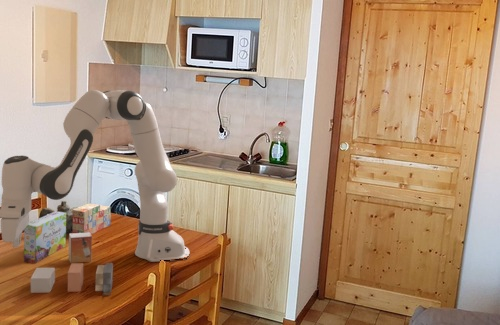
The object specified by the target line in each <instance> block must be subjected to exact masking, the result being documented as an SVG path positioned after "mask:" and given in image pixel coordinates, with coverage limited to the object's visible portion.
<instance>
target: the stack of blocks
mask: <svg viewBox="0 0 500 325" xmlns="http://www.w3.org/2000/svg"><path fill="white" fill-rule="evenodd" d="M111 210H112V209H111V206H107V205H101V204H96V203H95V204H94V203H86V204H84V205H81V206H79V207H78V208H76V209H73V216H72V232H71V233H72V234H73V233H87V232H90V234H91V235H92V234H95V233H96V232H98V231H100V230H103V229H106V228H107V227H109V226H111V219H112V215H111V214H112V212H111Z"/></svg>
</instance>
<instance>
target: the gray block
mask: <svg viewBox="0 0 500 325" xmlns="http://www.w3.org/2000/svg"><path fill="white" fill-rule="evenodd" d="M55 282H56V268H55V267H36V268H35V270H34V272H33V273H32V275H31V277H30V293H31V294H33V293H38V294H39V293H43V294H44V293H51V290H52V289H53V286H54V284H55Z"/></svg>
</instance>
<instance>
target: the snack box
mask: <svg viewBox="0 0 500 325" xmlns="http://www.w3.org/2000/svg"><path fill="white" fill-rule="evenodd" d="M54 211H55V212H53V213H50V214H47V215H46V216H44V217H41V218H39V217H38V218H37V219H34V220H33V221H29V224H28V225H27V226H26V228H25V229H24V230H23V232H24V234H23V235H24V236H23V239H24V240H23V241H24V242H23V262H26V263H31V264H37V263H39V262H41V260H44V259H45V258H48V257H49V256H51V255H52V254H54V253H56V252H58V251H60V250H62V249H63V248H65V247H66V243H67V242H66V239H67V234H66V213H64V212H57V210H54Z"/></svg>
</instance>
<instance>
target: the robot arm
mask: <svg viewBox="0 0 500 325" xmlns="http://www.w3.org/2000/svg"><path fill="white" fill-rule="evenodd" d="M104 119H108V120H109V119H111V120H115V121H122V120H125V121H126V123H128V127H129V132H130V136H131V141H132V145H133V149H134V152H135V154H136V155H137V157H138V160H139V161H138V162H137V163H136V164H135V167H134V175H135V177H136V182H137V188H138V193H139V202H140V203H139V204H140V207H139V208H140V209H139V210H140V211H139V213H140V214H139V220H138V228H137V229H138V230H137V231H138V232H137V233H138V239H137V244H136V249H135V251H134V254H135V256H137V258H140V259H144V260H147V261H148V262H152V263H155V262H161V261H160V260H170V261H172V260H171V259H179V258H184V257H187V256H189V254H190V249H189V247H187V246H185V241H184V238H183V237H182V236H181V235H180V234H179V233H177V232H176V231H175V230H174V225H173V222H172V221H171V220H168V209H169V207H168V206H169V203H168V200H167V197H166V193H169V192H171V191H172V190H174V189H175V187H176V186H177V184H178V175H177V173H176V172H175V170H174V169H173V167H172V164H171V162H170V160H169V156H168V155H167V152H166V150H165V148H164V145H163V141H162V138H161V137H162V136H161V133H160V129H159V125H158V121H157V117H156V115H155V112H154V110H153V107H152V106H151V104H150V103H148V102H146V101H145V100H144V98H143V97H142V96H141V95H140V94H139V93H137V92H135V91H133V90H123V89H117V90H107V91H106V90H105V91H103V92H102V91H100V90H97V89H90V90H88V91H86V92H85V93H84V94H82V96H81V97H80V98H79V99H78V100H77V101H76V103H74V105H73V106H72V108H71V109H70V110H69V111H68V113H67V114H66V116H65V118H64V120H63V122H62V123H63V124H62V125H63V126H62V127H63V130H64V132H65V134H66V136H67V137H68V138H69V140H70V145H69V147H68V149H67V150H66V153H65V154H64V156H63V158H62V160H61V162H60V163H59V164H58V165H57V166H55V167H54V166H51V165H49V164H48V165H47V164H44V163H42V162H38V161H35V160H33V159H31V158H29V156H27V155H14V156H10V157H8V158H7V159H5V160H4V162H3V163H2V167H1V186H2V193H1V204H0V206H1V207H0V219H1V220H0V228H1V229H0V230H1V240H2V241H3V242H5V243H12V247H13V248H19V247H20V245H21V242H22V241H21V239H22V234H23V232H24V229H25V228H26V226H27V225H28V224H29V223H30V212H31V211H32V194H34V193H38V194H41V195H43V196H45V197H46V198H48V199H50V200H52V201H53V200H55V201H58V200H61V199H64V198H65V197H67V196H68V195H69V194H70V192H71V191H72V189H73V187H74V183H75V180H76V176H77V174H78V172H79V170H80V169H81V167H82V165H83V163H84V161H85V159H86V157H87V155H88V153H89V151H90V149H91V147H92V144H93V142H94V135H95V133H96V131H97V130H98V128H99V127H100V125H101V124H102V122H103V120H104ZM185 248H186V249H185ZM189 257H190V256H189Z"/></svg>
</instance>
